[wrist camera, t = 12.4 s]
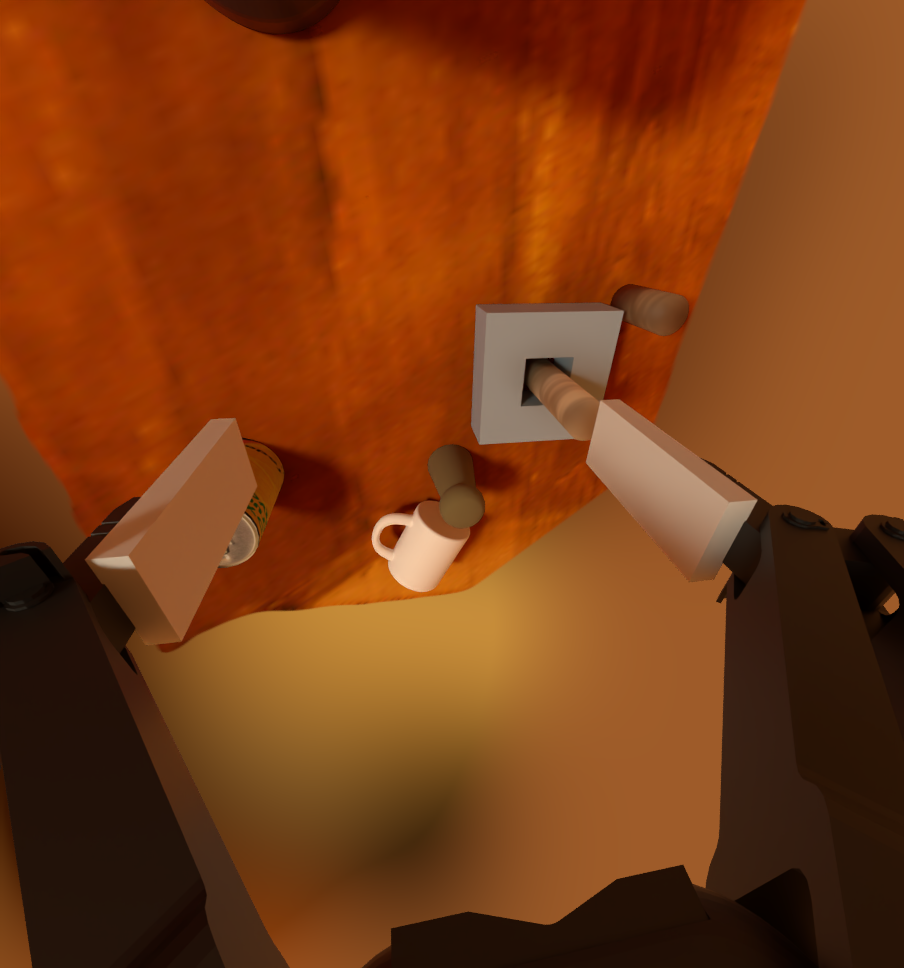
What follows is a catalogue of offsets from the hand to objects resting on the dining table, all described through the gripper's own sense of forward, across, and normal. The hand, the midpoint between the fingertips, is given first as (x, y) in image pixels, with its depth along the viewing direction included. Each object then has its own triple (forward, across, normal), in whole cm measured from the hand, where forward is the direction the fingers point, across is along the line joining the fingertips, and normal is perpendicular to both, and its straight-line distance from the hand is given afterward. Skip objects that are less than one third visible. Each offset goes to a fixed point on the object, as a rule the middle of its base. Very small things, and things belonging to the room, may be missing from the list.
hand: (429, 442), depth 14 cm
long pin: (+31, +15, -7) cm, 35 cm away
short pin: (+31, +25, 0) cm, 40 cm away
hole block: (+31, +15, -7) cm, 35 cm away
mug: (+31, 0, -29) cm, 42 cm away
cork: (+31, +5, -20) cm, 37 cm away
